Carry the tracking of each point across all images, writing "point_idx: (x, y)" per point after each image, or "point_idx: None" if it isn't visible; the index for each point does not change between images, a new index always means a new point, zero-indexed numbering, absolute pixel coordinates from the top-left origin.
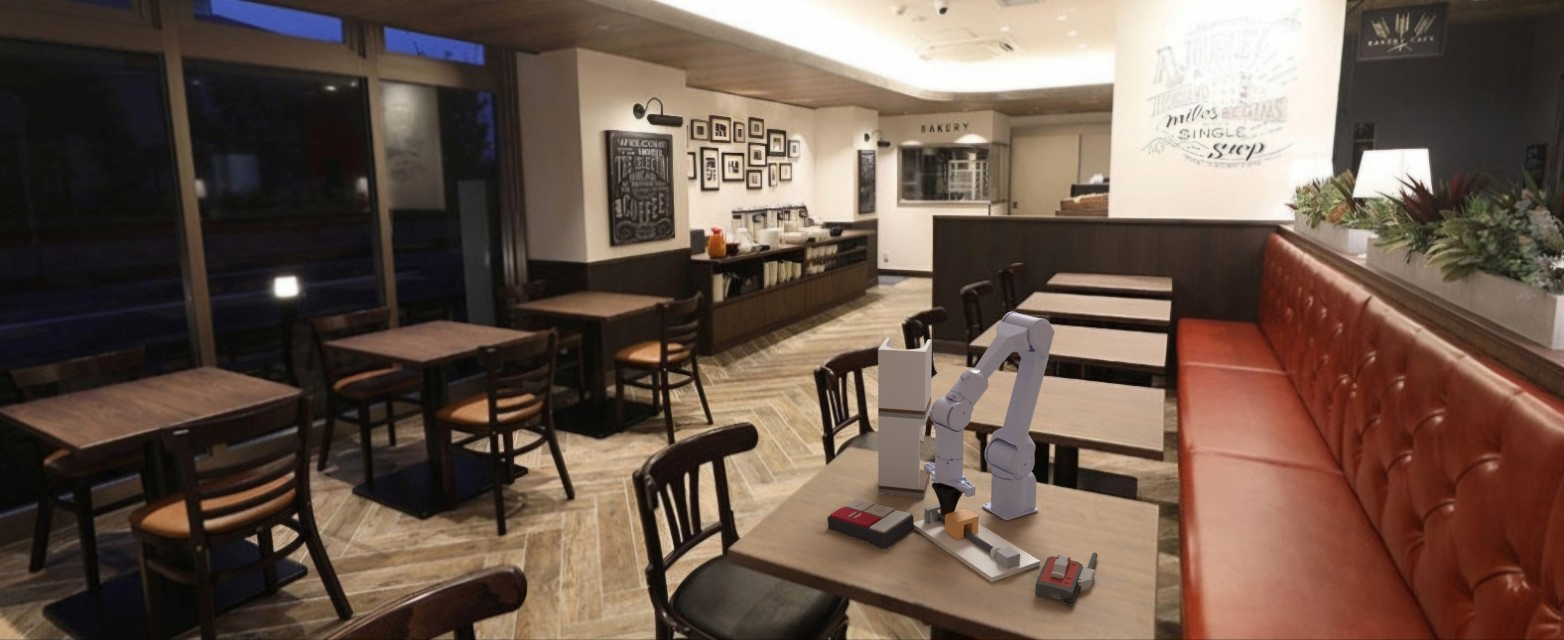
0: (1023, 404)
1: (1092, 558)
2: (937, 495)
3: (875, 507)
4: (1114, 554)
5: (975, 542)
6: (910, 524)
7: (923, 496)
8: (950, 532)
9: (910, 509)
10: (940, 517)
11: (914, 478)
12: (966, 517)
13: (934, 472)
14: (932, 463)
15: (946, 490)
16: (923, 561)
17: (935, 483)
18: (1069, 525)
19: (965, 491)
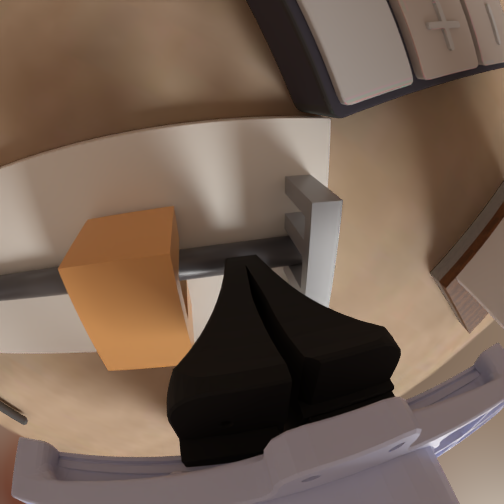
0: None
1: (2, 411)
2: (312, 309)
3: (461, 34)
4: (43, 433)
5: (44, 270)
6: (302, 83)
7: (434, 275)
8: (130, 217)
9: (418, 201)
10: (277, 246)
11: (487, 287)
12: (100, 328)
13: (439, 442)
14: (489, 418)
15: (182, 410)
16: (42, 25)
17: (380, 369)
18: (146, 444)
19: (32, 471)
